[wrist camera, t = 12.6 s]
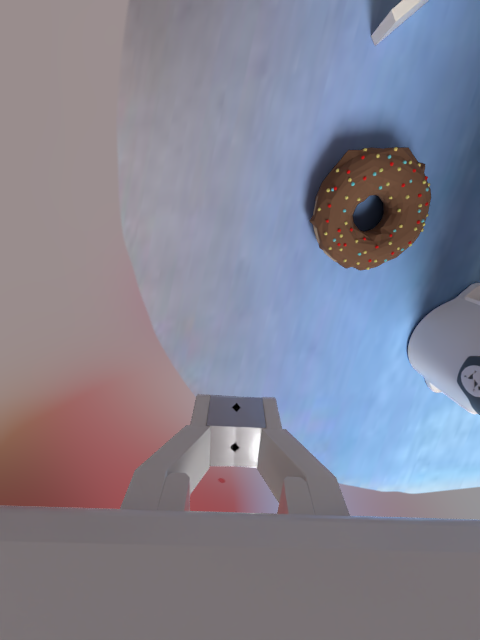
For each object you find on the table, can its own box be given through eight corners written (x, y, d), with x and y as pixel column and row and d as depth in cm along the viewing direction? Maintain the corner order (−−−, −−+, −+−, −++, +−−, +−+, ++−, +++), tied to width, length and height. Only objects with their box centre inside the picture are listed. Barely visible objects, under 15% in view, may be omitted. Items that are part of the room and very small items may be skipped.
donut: (423, 235, 36) (451, 239, 31) (328, 280, 38) (340, 290, 34) (398, 122, 31) (426, 107, 26) (290, 181, 33) (299, 177, 29)
